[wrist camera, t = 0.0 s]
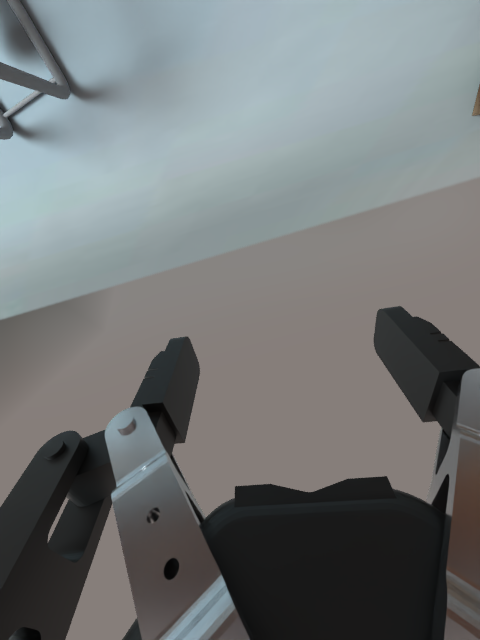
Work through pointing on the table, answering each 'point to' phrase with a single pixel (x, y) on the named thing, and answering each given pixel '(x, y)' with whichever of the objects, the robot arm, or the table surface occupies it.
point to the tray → (477, 104)
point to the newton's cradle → (27, 79)
